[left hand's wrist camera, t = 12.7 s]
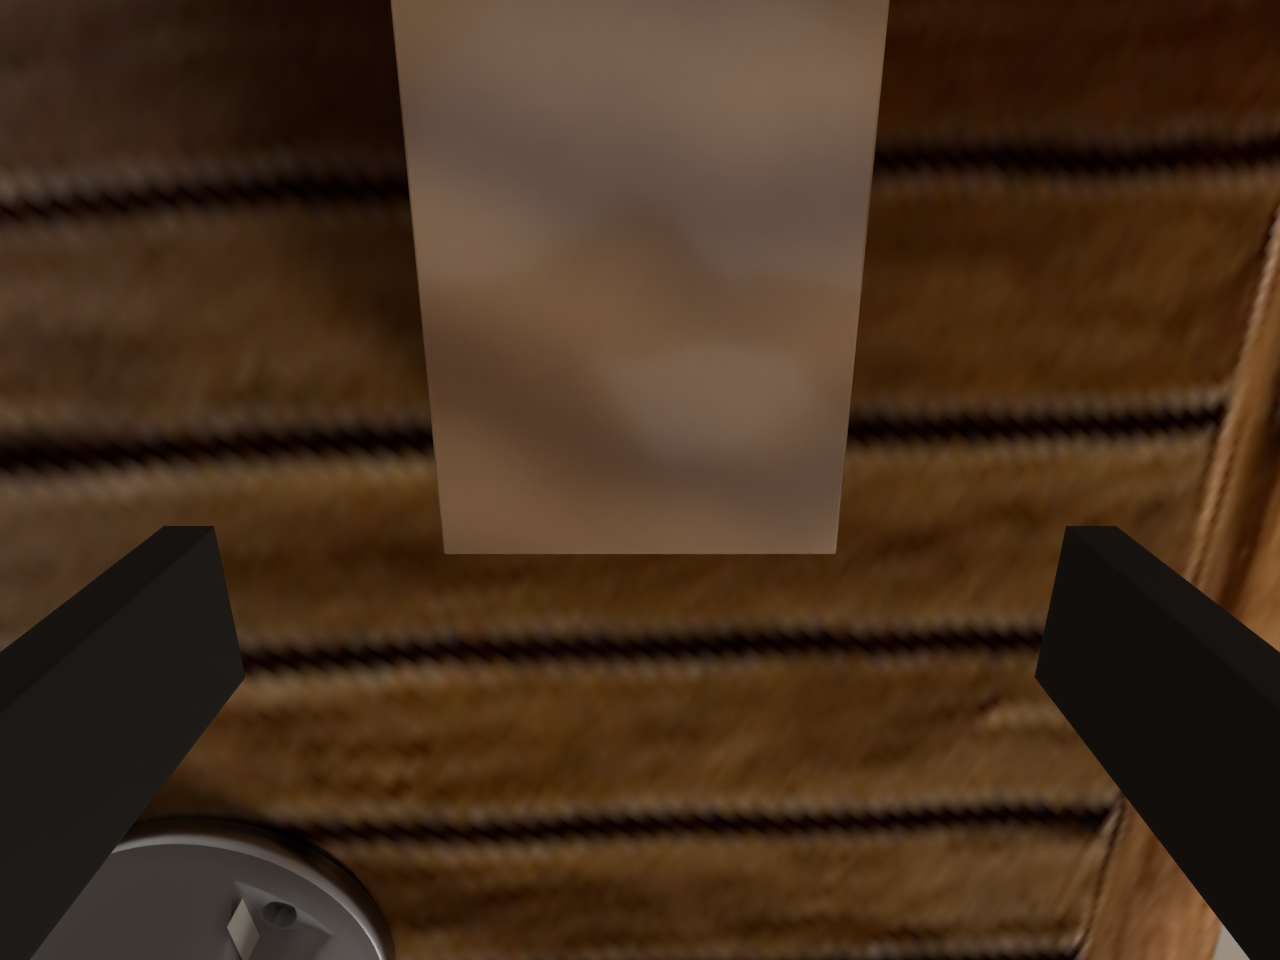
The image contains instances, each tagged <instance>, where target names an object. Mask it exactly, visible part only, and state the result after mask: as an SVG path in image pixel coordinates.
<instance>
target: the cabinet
mask: <svg viewBox="0 0 1280 960" xmlns="http://www.w3.org/2000/svg"><path fill="white" fill-rule="evenodd" d="M888 10H889V0H391V11H392V21H393V31H394V42H395V52H396V62H397V73H398V83H399V93H400V104H401V114H402V124H403V135H404V145H405V155H406V166H407V176H408V187H409V197H410V207H411V218H412V228H413V238H414V249H415V259H416V269H417V280H418V290H419V300H420V311H421V321H422V331H423V342H424V352H425V362H426V373H427V383H428V393H429V404H430V414H431V424H432V435H433V445H434V455H435V466H436V476H437V486H438V497H439V507H440V517H441V528H442V538H443V548H444V553H445V554H835V553H836V547H837V536H838V526H839V516H840V505H841V495H842V485H843V474H844V464H845V454H846V443H847V433H848V423H849V412H850V402H851V392H852V381H853V371H854V361H855V350H856V340H857V330H858V319H859V309H860V299H861V289H862V278H863V268H864V258H865V247H866V237H867V227H868V216H869V206H870V196H871V185H872V175H873V165H874V154H875V144H876V134H877V123H878V113H879V103H880V92H881V82H882V72H883V61H884V51H885V41H886V30H887V20H888Z"/></svg>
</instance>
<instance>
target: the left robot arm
mask: <svg viewBox="0 0 1280 960" xmlns="http://www.w3.org/2000/svg"><path fill="white" fill-rule="evenodd" d="M244 678H245V673H244V669H243V664H242V659H241V654H240V649H239V645H238V640H237V635H236V630H235V625H234V621H233V616H232V611H231V606H230V601H229V597H228V592H227V587H226V582H225V578H224V573H223V568H222V563H221V558H220V554H219V549H218V544H217V539H216V534H215V530H214V526H164V527H162V528H161V529H160V530H158V531H157V532H156V533H155V534H153V535H152V536H151V537H149V538H148V539H147V540H145V541H144V542H143V543H142V544H140V545H139V546H138V547H136V548H135V549H134V550H132V551H131V552H130V553H129V554H127V555H126V556H125V557H123V558H122V559H121V560H119V561H118V562H117V563H116V564H114V565H113V566H112V567H110V568H109V569H108V570H107V571H105V572H104V573H103V574H101V575H100V576H99V577H97V578H96V579H95V580H94V581H92V582H91V583H90V584H88V585H87V586H86V587H84V588H83V589H82V590H81V591H79V592H78V593H77V594H75V595H74V596H73V597H71V598H70V599H69V600H68V601H66V602H65V603H64V604H62V605H61V606H60V607H59V608H57V609H56V610H55V611H53V612H52V613H51V614H49V615H48V616H47V617H46V618H44V619H43V620H42V621H40V622H39V623H38V624H36V625H35V626H34V627H33V628H31V629H30V630H29V631H27V632H26V633H25V634H23V635H22V636H21V637H20V638H18V639H17V640H16V641H14V642H13V643H12V644H11V645H9V646H8V647H7V648H5V649H4V650H3V651H1V652H0V960H395V950H394V945H393V940H392V937H391V934H390V931H389V928H388V925H387V923H386V921H385V919H384V917H383V915H382V913H381V912H380V910H379V909H378V907H377V905H376V904H375V902H374V901H373V900H372V899H371V897H370V896H369V895H368V893H367V892H366V891H365V890H364V889H363V888H362V887H361V886H360V885H359V884H358V882H357V881H356V880H355V879H353V878H352V877H351V876H350V875H349V874H348V873H347V872H346V871H344V870H343V869H342V868H341V867H339V866H338V865H336V864H335V863H334V862H332V861H331V860H330V859H328V858H326V857H325V856H323V855H322V854H320V853H319V852H317V851H315V850H313V849H311V848H310V847H308V846H306V845H304V844H302V843H300V842H298V841H295V840H293V839H291V838H288V837H286V836H284V835H281V834H278V833H275V832H272V831H270V830H267V829H263V828H259V827H256V826H252V825H248V824H243V823H238V822H233V821H226V820H218V819H207V818H176V819H167V820H158V821H153V822H148V823H143V824H139V825H136V826H132V825H133V824H134V822H135V821H136V820H137V819H138V817H139V816H140V815H141V813H142V812H143V811H144V809H145V808H146V807H147V805H148V804H149V803H150V801H151V800H152V799H153V798H154V796H155V795H156V794H157V792H158V791H159V790H160V788H161V787H162V786H163V784H164V783H165V782H166V781H167V779H168V778H169V777H170V775H171V774H172V773H173V771H174V770H175V769H176V767H177V766H178V765H179V763H180V762H181V761H182V760H183V758H184V757H185V756H186V754H187V753H188V752H189V750H190V749H191V748H192V746H193V745H194V744H195V742H196V741H197V740H198V739H199V737H200V736H201V735H202V733H203V732H204V731H205V729H206V728H207V727H208V725H209V724H210V723H211V721H212V720H213V719H214V718H215V716H216V715H217V714H218V712H219V711H220V710H221V708H222V707H223V706H224V704H225V703H226V702H227V700H228V699H229V698H230V697H231V695H232V694H233V693H234V691H235V690H236V689H237V687H238V686H239V685H240V683H241V682H242V681H243V679H244ZM1035 678H1036V679H1037V681H1038V682H1039V683H1040V685H1041V686H1042V687H1043V689H1044V690H1045V691H1046V693H1047V694H1048V695H1049V697H1050V698H1051V699H1052V700H1053V702H1054V703H1055V704H1056V706H1057V707H1058V708H1059V710H1060V711H1061V712H1062V714H1063V715H1064V716H1065V718H1066V719H1067V720H1068V721H1069V723H1070V724H1071V725H1072V727H1073V728H1074V729H1075V731H1076V732H1077V733H1078V735H1079V736H1080V737H1081V739H1082V740H1083V741H1084V742H1085V744H1086V745H1087V746H1088V748H1089V749H1090V750H1091V752H1092V753H1093V754H1094V756H1095V757H1096V758H1097V760H1098V761H1099V762H1100V763H1101V765H1102V766H1103V767H1104V769H1105V770H1106V771H1107V773H1108V774H1109V775H1110V777H1111V778H1112V779H1113V781H1114V782H1115V783H1116V784H1117V786H1118V787H1119V788H1120V790H1121V791H1122V792H1123V794H1124V795H1125V796H1126V798H1127V799H1128V800H1129V801H1130V803H1131V804H1132V805H1133V807H1134V808H1135V809H1136V811H1137V812H1138V813H1139V815H1140V816H1141V817H1142V819H1143V820H1144V821H1145V822H1146V824H1147V825H1148V826H1149V828H1150V829H1151V830H1152V832H1153V833H1154V834H1155V836H1156V837H1157V838H1158V840H1159V841H1160V842H1161V843H1162V845H1163V846H1164V847H1165V849H1166V850H1167V851H1168V853H1169V854H1170V855H1171V857H1172V858H1173V859H1174V861H1175V862H1176V863H1177V864H1178V866H1179V867H1180V868H1181V870H1182V871H1183V872H1184V874H1185V875H1186V876H1187V878H1188V879H1189V880H1190V882H1191V883H1192V884H1193V885H1194V887H1195V888H1196V889H1197V891H1198V892H1199V893H1200V895H1201V896H1202V897H1203V899H1204V900H1205V901H1206V903H1207V904H1208V905H1209V906H1210V908H1211V909H1212V910H1213V912H1214V913H1215V914H1216V916H1217V917H1218V918H1219V920H1220V921H1221V922H1222V924H1223V925H1224V926H1225V927H1226V929H1227V930H1228V931H1229V933H1230V934H1231V935H1232V937H1233V938H1234V939H1235V941H1236V942H1237V943H1238V944H1239V946H1240V947H1241V948H1242V950H1243V951H1244V952H1245V954H1246V955H1247V956H1248V958H1249V959H1250V960H1280V652H1279V651H1277V650H1276V649H1275V648H1273V647H1272V646H1271V645H1269V644H1268V643H1267V642H1266V641H1264V640H1263V639H1262V638H1260V637H1259V636H1258V635H1257V634H1255V633H1254V632H1253V631H1251V630H1250V629H1249V628H1247V627H1246V626H1245V625H1244V624H1242V623H1241V622H1240V621H1238V620H1237V619H1236V618H1234V617H1233V616H1232V615H1231V614H1229V613H1228V612H1227V611H1225V610H1224V609H1223V608H1221V607H1220V606H1219V605H1218V604H1216V603H1215V602H1214V601H1212V600H1211V599H1210V598H1209V597H1207V596H1206V595H1205V594H1203V593H1202V592H1201V591H1199V590H1198V589H1197V588H1196V587H1194V586H1193V585H1192V584H1190V583H1189V582H1188V581H1186V580H1185V579H1184V578H1183V577H1181V576H1180V575H1179V574H1177V573H1176V572H1175V571H1173V570H1172V569H1171V568H1170V567H1168V566H1167V565H1166V564H1164V563H1163V562H1162V561H1161V560H1159V559H1158V558H1157V557H1155V556H1154V555H1153V554H1151V553H1150V552H1149V551H1148V550H1146V549H1145V548H1144V547H1142V546H1141V545H1140V544H1138V543H1137V542H1136V541H1135V540H1133V539H1132V538H1131V537H1129V536H1128V535H1127V534H1125V533H1124V532H1123V531H1122V530H1120V529H1119V528H1118V527H1116V526H1066V530H1065V534H1064V539H1063V544H1062V549H1061V554H1060V558H1059V563H1058V568H1057V573H1056V578H1055V582H1054V587H1053V592H1052V597H1051V601H1050V606H1049V611H1048V616H1047V621H1046V625H1045V630H1044V635H1043V640H1042V645H1041V649H1040V654H1039V659H1038V664H1037V669H1036V673H1035ZM131 826H132V827H131Z"/></svg>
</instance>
